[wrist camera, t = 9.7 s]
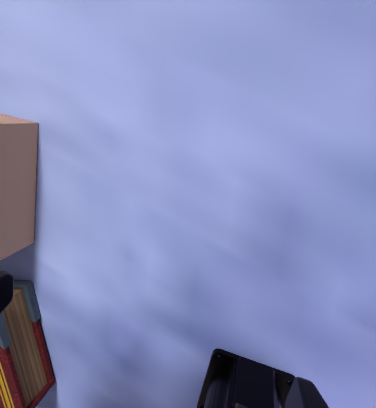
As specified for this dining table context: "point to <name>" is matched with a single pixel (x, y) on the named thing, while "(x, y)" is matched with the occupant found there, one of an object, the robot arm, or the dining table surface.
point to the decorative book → (23, 351)
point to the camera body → (17, 183)
